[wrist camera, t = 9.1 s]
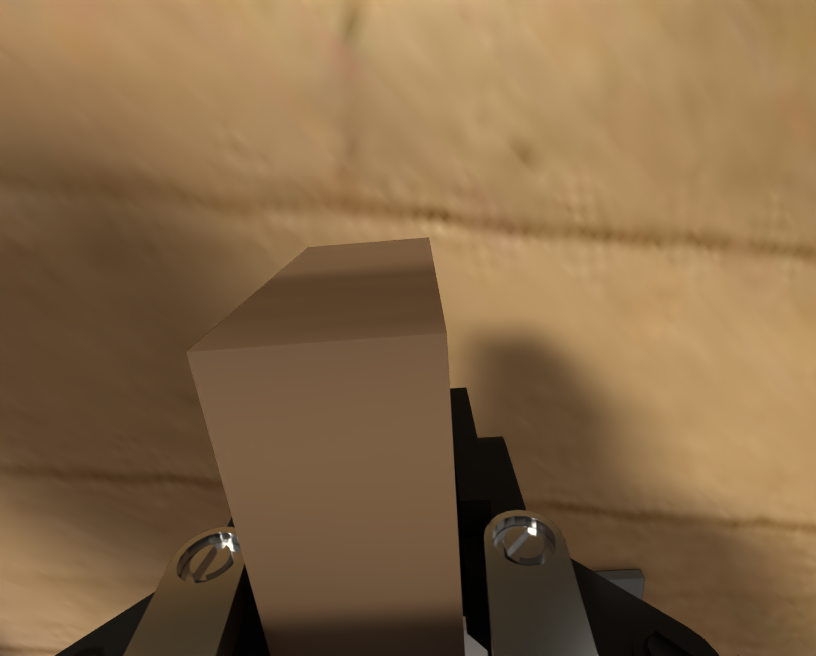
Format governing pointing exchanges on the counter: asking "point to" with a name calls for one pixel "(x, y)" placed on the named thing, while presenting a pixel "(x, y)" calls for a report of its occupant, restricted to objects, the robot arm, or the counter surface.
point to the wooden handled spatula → (341, 452)
